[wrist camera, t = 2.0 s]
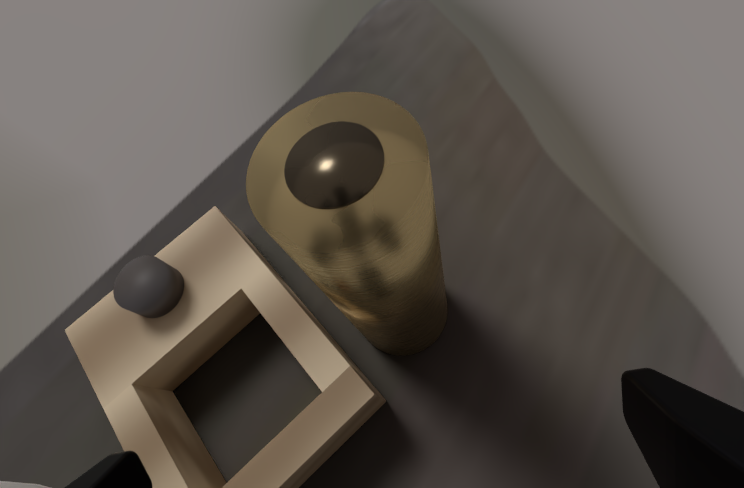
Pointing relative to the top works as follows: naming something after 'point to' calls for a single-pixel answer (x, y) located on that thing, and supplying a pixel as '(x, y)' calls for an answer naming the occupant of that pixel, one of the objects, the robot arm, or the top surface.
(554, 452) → the top surface
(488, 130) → the top surface
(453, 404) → the top surface
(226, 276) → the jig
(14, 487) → the cup
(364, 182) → the tan piece
